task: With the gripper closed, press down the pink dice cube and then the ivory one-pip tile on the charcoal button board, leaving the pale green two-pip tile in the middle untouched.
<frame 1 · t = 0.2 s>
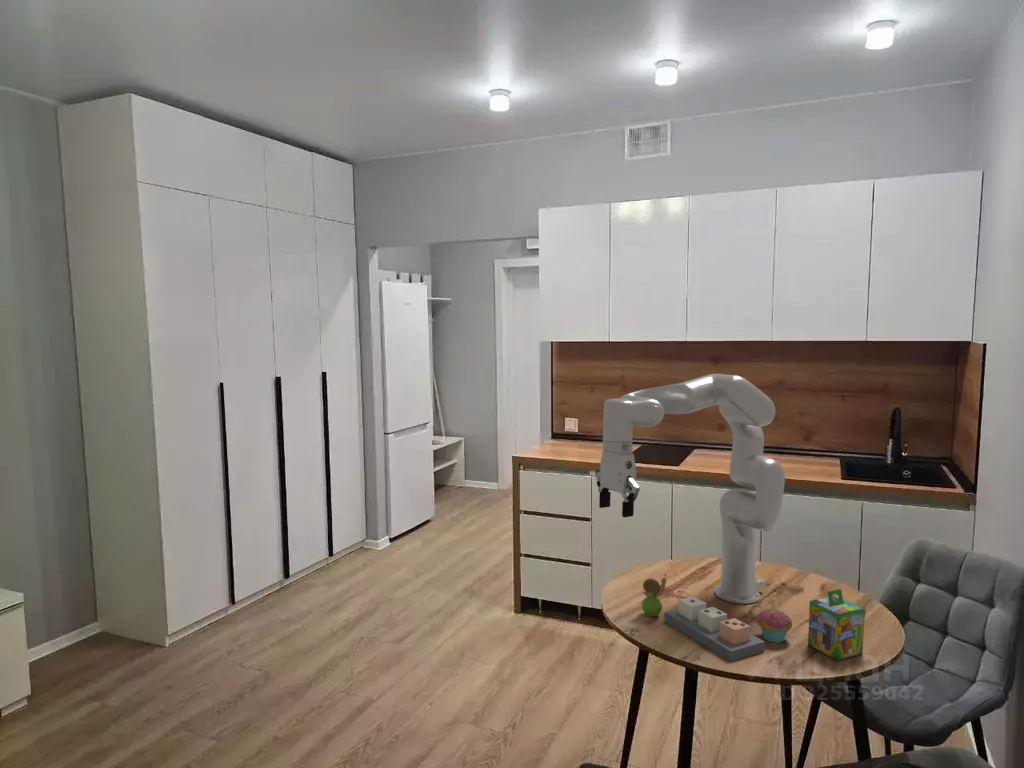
hand: (615, 511, 173), 31 cm above the table, tool pointing down, fingers open, 9 cm apart
one pip tile: (692, 608, 177), point 4 cm above the table, slide at 0.0 cm
snail figurine: (653, 616, 183), on the table
chalk box: (834, 650, 164), on the table
cupcake: (773, 639, 170), on the table
two pip tile: (712, 619, 171), point 4 cm above the table, slide at 0.0 cm
button board: (712, 635, 171), on the table
pink dice cube: (734, 631, 164), point 4 cm above the table, slide at 0.0 cm
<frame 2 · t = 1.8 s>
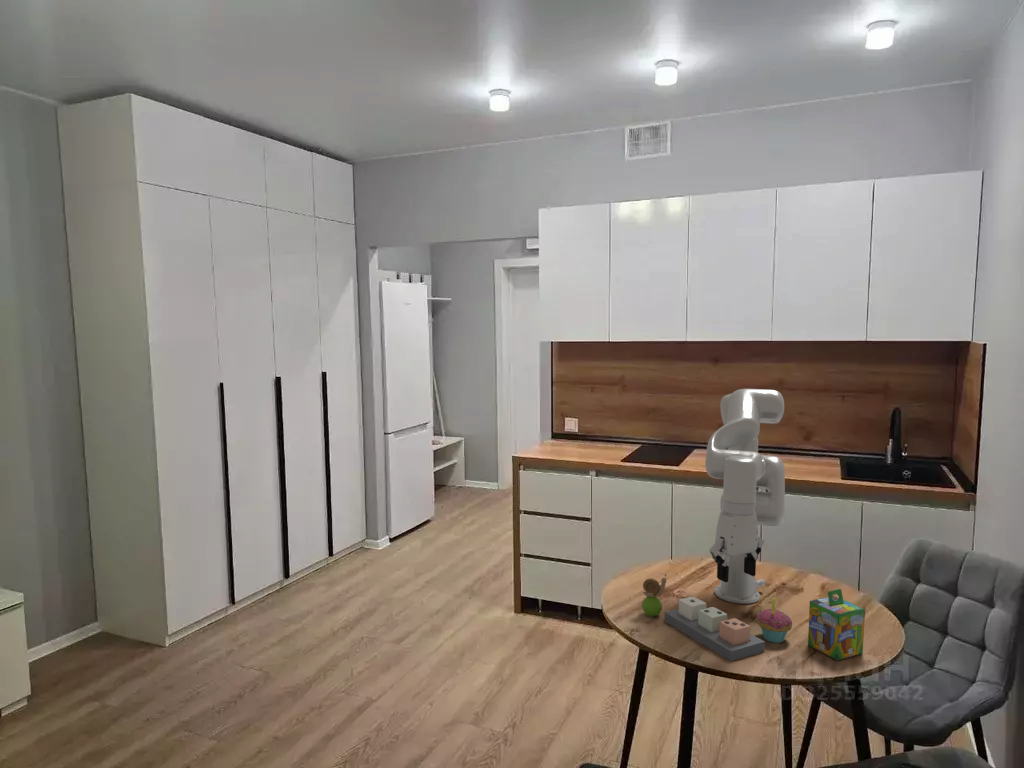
hand: (736, 577, 163), 18 cm above the table, tool pointing down, fingers open, 8 cm apart
nothing on the table moved.
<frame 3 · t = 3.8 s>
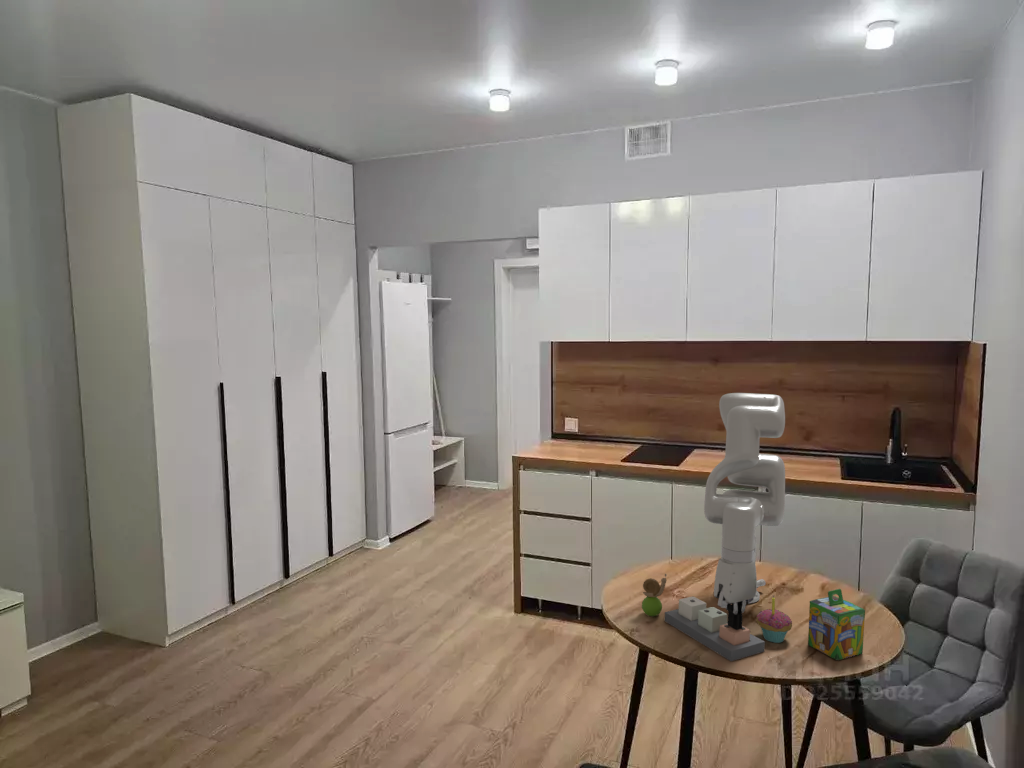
hand: (734, 627, 164), 6 cm above the table, tool pointing down, fingers closed
pink dice cube: (734, 635, 164), point 3 cm above the table, slide at 1.0 cm, touching gripper
everything else where it was.
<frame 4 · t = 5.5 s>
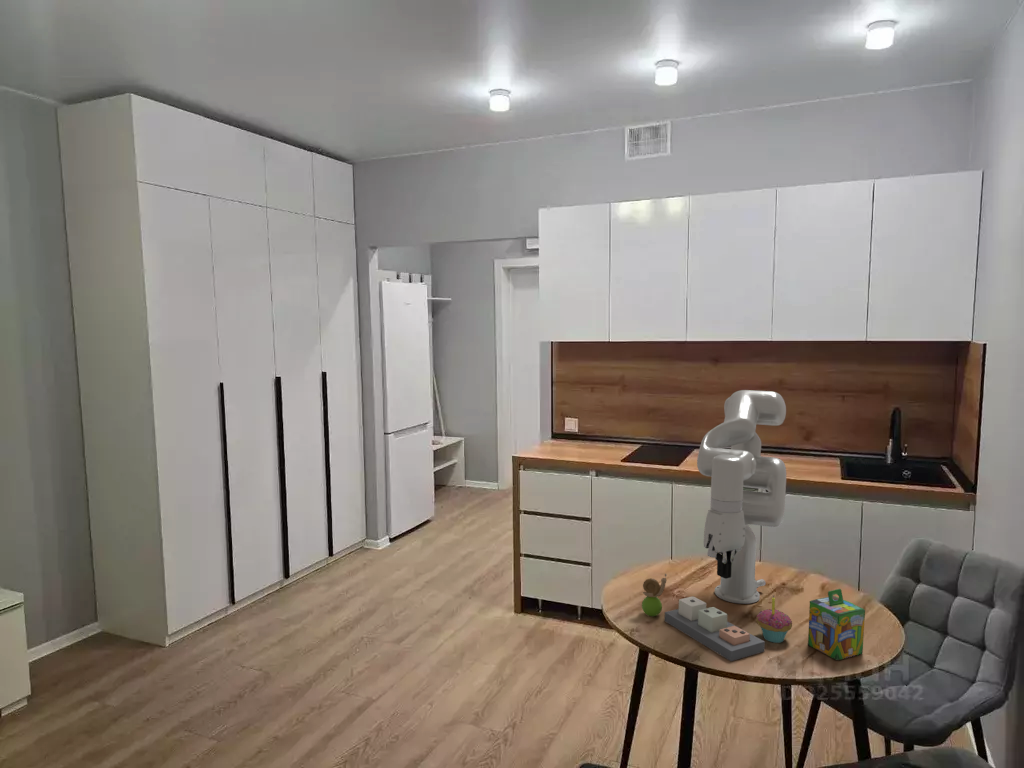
hand: (723, 576, 167), 17 cm above the table, tool pointing down, fingers closed
pink dice cube: (734, 639, 164), point 2 cm above the table, slide at 2.0 cm
everything else where it was.
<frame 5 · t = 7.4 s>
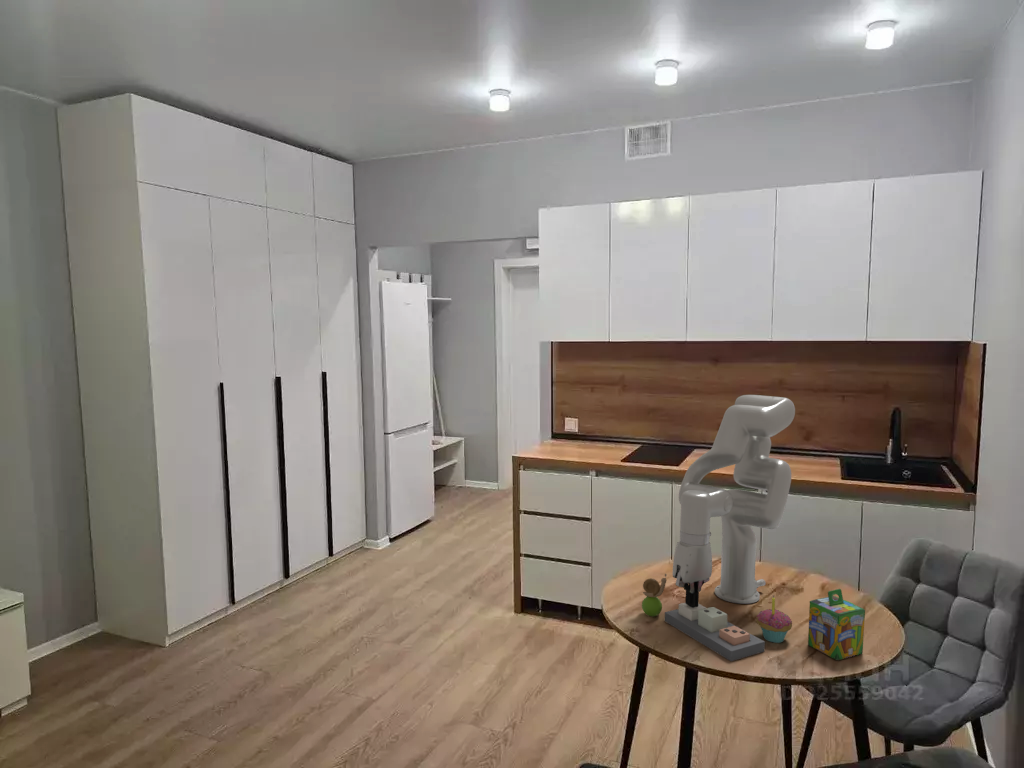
hand: (691, 605, 177), 5 cm above the table, tool pointing down, fingers closed
one pip tile: (692, 612, 177), point 3 cm above the table, slide at 1.3 cm, touching gripper
everything else where it was.
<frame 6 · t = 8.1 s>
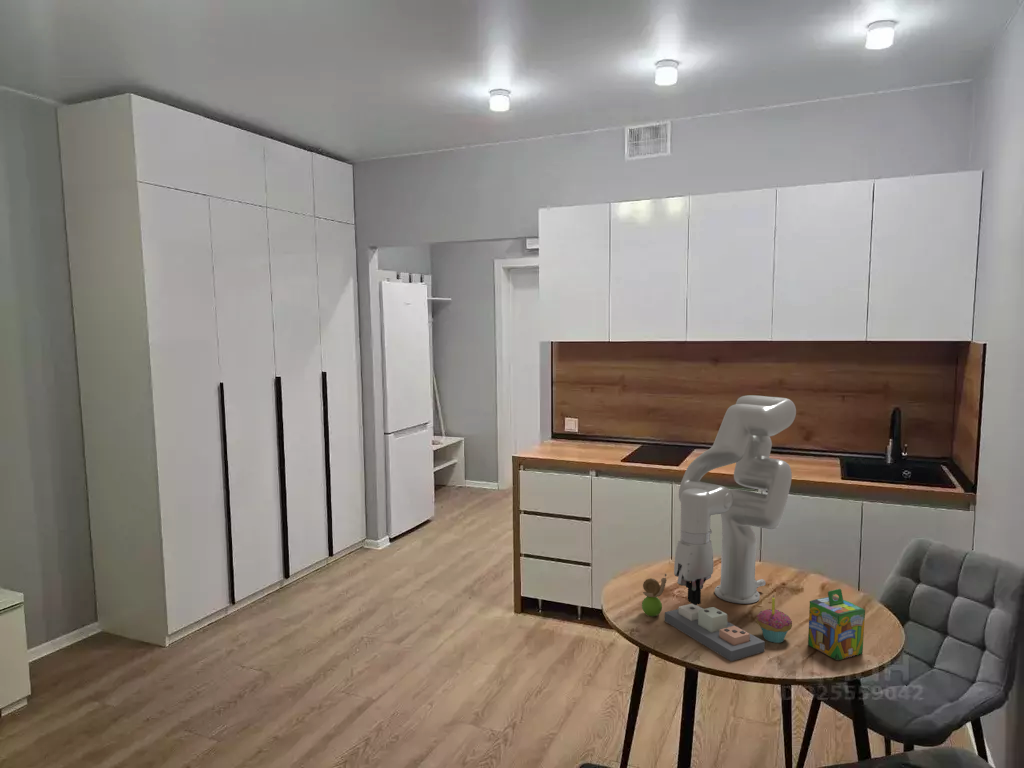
hand: (694, 602, 178), 6 cm above the table, tool pointing down, fingers closed
one pip tile: (692, 615, 177), point 2 cm above the table, slide at 2.0 cm
everything else where it was.
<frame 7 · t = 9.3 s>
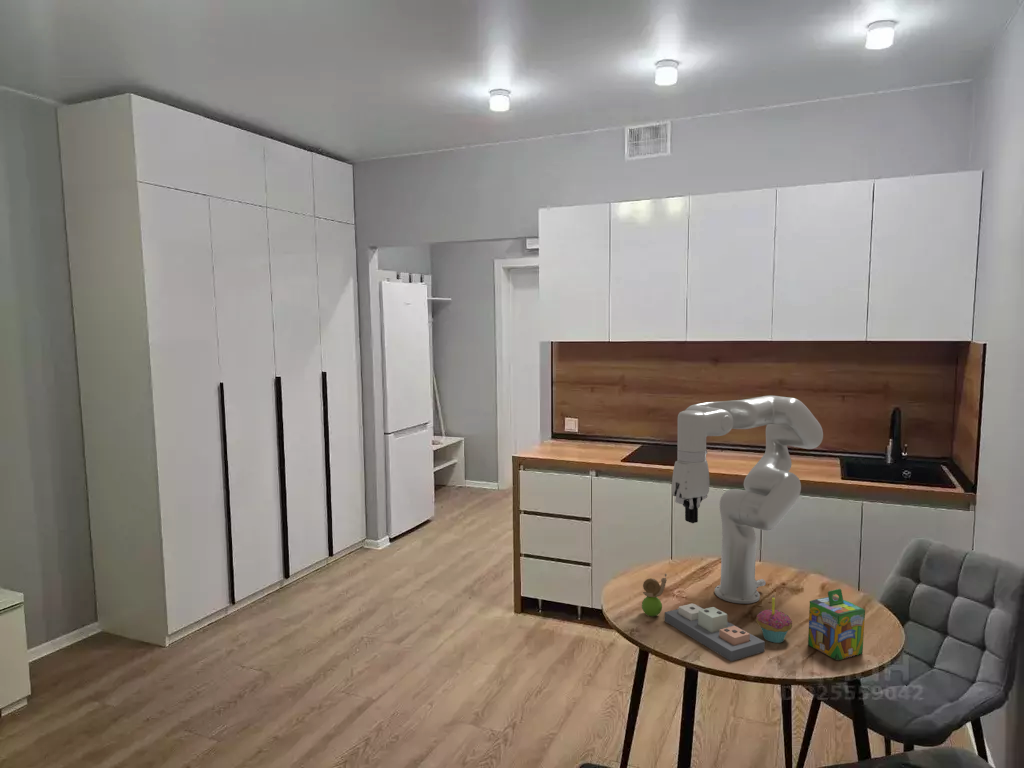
hand: (691, 521, 183), 26 cm above the table, tool pointing down, fingers closed
nothing on the table moved.
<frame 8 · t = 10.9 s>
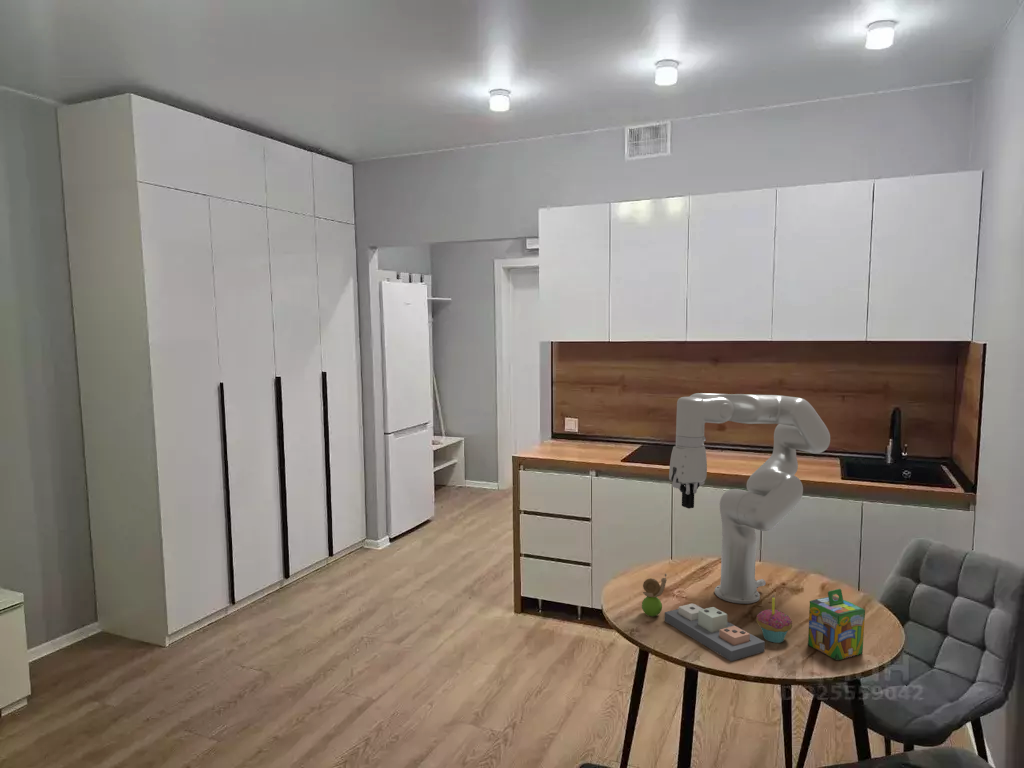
hand: (687, 506, 185), 29 cm above the table, tool pointing down, fingers closed
nothing on the table moved.
at the end: pink dice cube slide at 2.0 cm; one pip tile slide at 2.0 cm; two pip tile slide at 0.0 cm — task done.
